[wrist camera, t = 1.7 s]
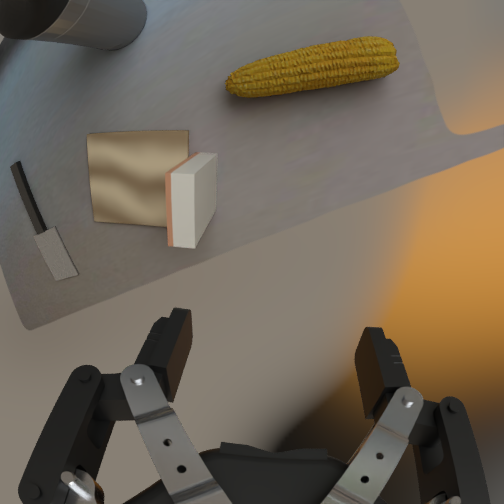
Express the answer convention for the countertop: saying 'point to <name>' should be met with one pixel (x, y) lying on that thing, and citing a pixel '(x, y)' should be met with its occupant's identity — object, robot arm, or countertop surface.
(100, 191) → the board
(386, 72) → the food
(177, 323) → the robot arm
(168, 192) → the sponge
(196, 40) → the countertop surface
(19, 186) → the knife with black handle
